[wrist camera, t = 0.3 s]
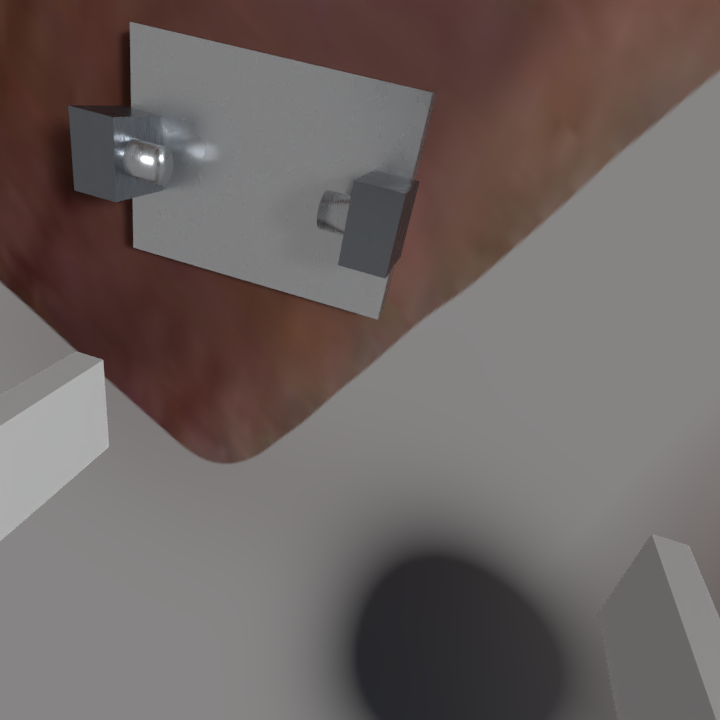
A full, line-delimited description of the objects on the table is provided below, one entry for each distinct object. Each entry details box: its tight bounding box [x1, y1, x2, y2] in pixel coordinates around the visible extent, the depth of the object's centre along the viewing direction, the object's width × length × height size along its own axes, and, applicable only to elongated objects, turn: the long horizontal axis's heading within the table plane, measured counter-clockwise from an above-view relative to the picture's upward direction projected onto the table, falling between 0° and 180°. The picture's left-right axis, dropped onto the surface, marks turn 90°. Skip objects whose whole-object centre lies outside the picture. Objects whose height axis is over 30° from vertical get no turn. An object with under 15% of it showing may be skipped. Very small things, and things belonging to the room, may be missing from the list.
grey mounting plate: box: [68, 22, 436, 319], centre depth 33 cm, size 21×15×7 cm
